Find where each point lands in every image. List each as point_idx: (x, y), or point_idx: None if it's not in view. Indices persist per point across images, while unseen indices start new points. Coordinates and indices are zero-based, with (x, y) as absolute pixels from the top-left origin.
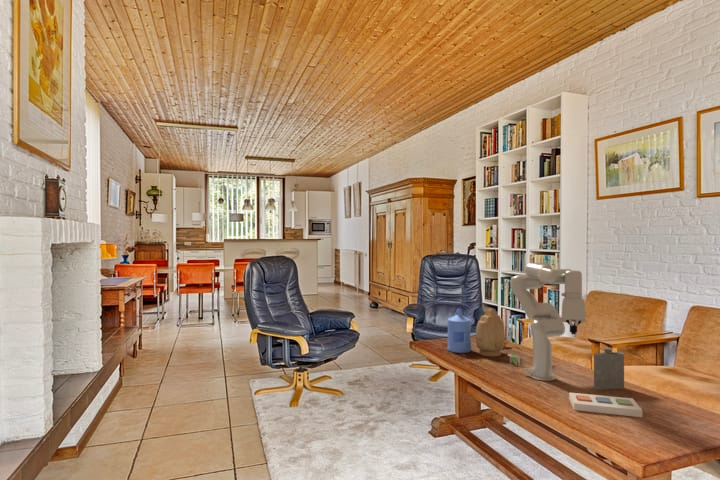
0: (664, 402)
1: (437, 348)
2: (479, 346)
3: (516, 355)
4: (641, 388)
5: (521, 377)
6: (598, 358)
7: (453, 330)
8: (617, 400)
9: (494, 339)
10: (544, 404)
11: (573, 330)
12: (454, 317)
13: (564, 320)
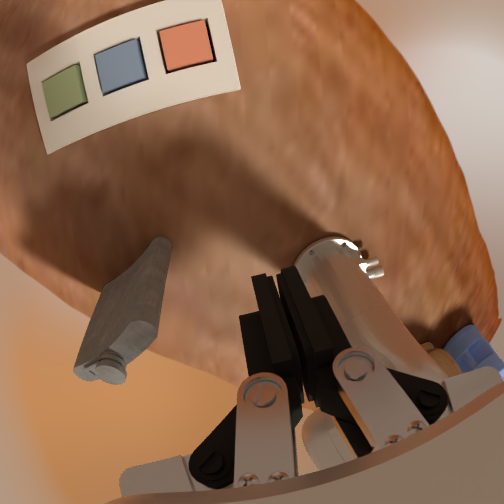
0: (12, 228)
1: (483, 327)
2: (445, 351)
3: None
4: (74, 307)
5: (382, 238)
6: (137, 309)
7: (494, 354)
8: (78, 84)
9: None
10: (311, 8)
11: (290, 303)
12: None
13: (466, 389)
